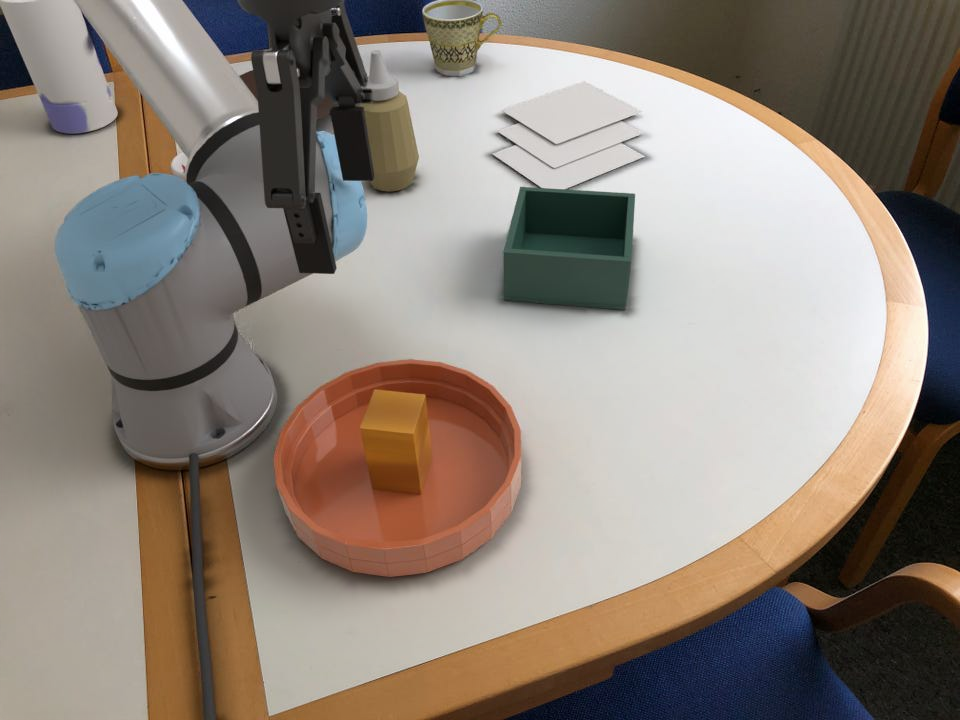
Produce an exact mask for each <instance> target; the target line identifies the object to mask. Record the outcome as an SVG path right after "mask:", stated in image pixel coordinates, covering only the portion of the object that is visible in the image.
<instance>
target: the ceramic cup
mask: <svg viewBox="0 0 960 720" xmlns="http://www.w3.org/2000/svg"><path fill="white" fill-rule="evenodd" d="M421 12H422V18H423V23H424V27H425V31H426V35H427V39H428V42H429V46H430V47H429V48H430V51H431V54H432V59H433V63H434V67H435V71H436V72H438V73H440V74H441V75H443V76H445V77H462V76H466V75H468V74H471V73H473V72H474V71H475V68H476V65H477V56H478V51H480V48H481V46H482V45H483V44H484V43H487V41H488V39H490V37H492V36H493V35H494V34H496V33H497V32H498V31H499V30H500V29H501V26H502V20H501V17H500V16H499V15H498V14H496V13H494V12H489V13H486V14H485V15H483V14H484V7H483V4H481V3H480V2H479V1H476V0H435V1H434V0H433V1H431V2H429V3H427V4H426V5H424V6H423V7H422V11H421ZM489 19H496V20H497V22H498V26H497V27H496V28H495V29H494V30H493V31H492V32H490V33H489V34H487V36H486V37H484V39H483V40H480V34H481V29H482V27H483V26H484V24H485V22H486V21H487V20H489Z"/></svg>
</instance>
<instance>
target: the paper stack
mask: <svg viewBox="0 0 960 720" xmlns="http://www.w3.org/2000/svg"><path fill="white" fill-rule="evenodd" d="M500 111H501V112H503V113H505V114H506V115H508V116H510V117H511V118H513V119H514V120H516V121H517V123H515V124H513V125H512V124H511V125H510V126H506V127H504V128H500V129H497V130H496V132H497V133H499V134H500V135H502V136H503V137H505V138H506V139H508V140H509V141H511V142H512V143H514V144H515V145H512V146H509V147H505V148H504V149H500V150H498V151H496V152H493V153H492V155H493V156H494V157H495V158H496V159H499V161H501V162H503V163H504V164H506V165H507V166H508V167H510V168H511V169H513V170H515V171H516V172H518V173H519V174H520V175H523V177H525V178H526V179H528V180H529V181H531V182H532V183H534V184H535V185H537V186H538V187H539V188H550V189H566V190H568V189H570V188H571V187H574V186H577V185H578V184H581V183H584V182H586V181H589V180H591V179H594V178H596V177H598V176H601V175H604V174H606V173H608V172H611V171H613V170H615V169H618V168H620V167H624V166H625V165H628V164H631V163H633V162H636V161H637V160H640V159H642V158H645V155H643V154H641V153H640V152H639V151H636V150H635V149H633V148H631V147H629V146H628V145H626V144H624V143H623V142H626V141H627V140H630V139H633V138H635V137H638V136H640V135H643V134H644V132H643V131H641V130H639V129H637V128H635V127H633V126H632V125H630V124H628V123H626V122H624V121H623V120H625V119H627V118H631V117H633V116H635V115H639V114H641V113H643V112H644V111H643V110H641V109H639V108H637V107H636V106H634V105H631V104H630V103H628V102H625V101H623V100H622V99H620V98H618V97H617V96H614V95H612V94H610V93H608V92H606V91H605V90H602V89H600V88H599V87H597V86H595V85H593V84H590V83H589V82H587V81H585V80H583V81H580V82H577V83H575V84H571V85H568V86H566V87H563V88H560V89H557V90H554V91H551V92H548V93H545V94H543V95H540V96H537V97H534V98H531V99H528V100H525V101H522V102H519V103H517V104H513V105H511V106H510V105H509V106H508V107H505V108H502V109H500Z"/></svg>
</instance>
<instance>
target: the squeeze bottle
mask: <svg viewBox="0 0 960 720" xmlns="http://www.w3.org/2000/svg"><path fill="white" fill-rule="evenodd" d="M387 69H388V68H387V66H386V63H385V60H384V58H383V54H382V51H381V50H377V49H374V50H371V52H370V62H369V73H368V75H367V77H368V82H367V86H366V87H362V89H372V93H373V101H372V103H371V104H360V107H364V112H365V118H366V125H367V131H368V137H369V144H370V150H371V156H372V163H373V169H374V175H375V177H374V180H373V181H369V183H370V185H371V186H372V187H373V188H374V189H375V190H378V191H381V192H390V193H391V192H398V191H401V190H404V189H407V188H408V187H409V186H411V184H413V181H414V178H415V175H416V170H417V166H418V162H419V158H420V155H419V152H418V146H417V141H416V136H415V130H414V127H413V121H412V116H411V111H410V106H409V102H408V98H407V95H405V94H404V93H402V91H400V87H399V80H398V77H396V76H395V75H393V74H390V73H389V72H388V70H387Z"/></svg>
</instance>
